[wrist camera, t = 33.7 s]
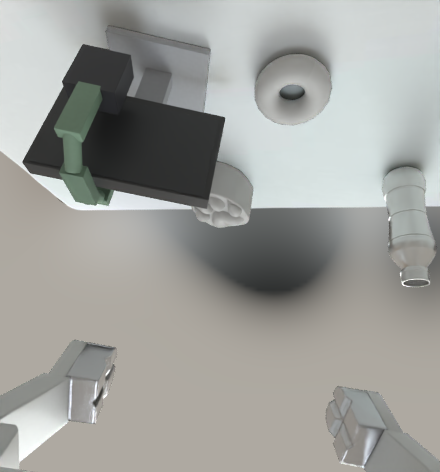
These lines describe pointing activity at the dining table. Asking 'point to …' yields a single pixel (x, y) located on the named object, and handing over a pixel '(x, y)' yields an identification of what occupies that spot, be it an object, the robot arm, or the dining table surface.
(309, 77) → the donut
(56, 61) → the dining table surface
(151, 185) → the monitor
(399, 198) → the plastic bottle
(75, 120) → the headphones
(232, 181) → the lumpy-topped squat cylinder
